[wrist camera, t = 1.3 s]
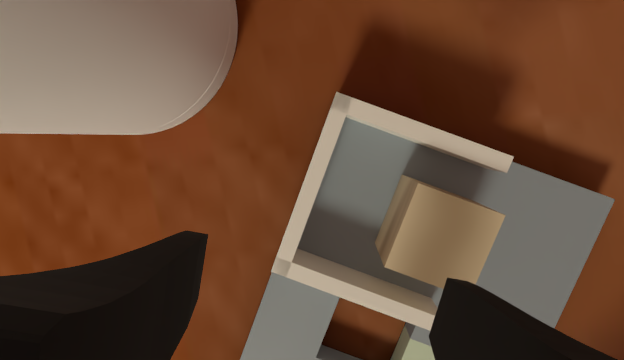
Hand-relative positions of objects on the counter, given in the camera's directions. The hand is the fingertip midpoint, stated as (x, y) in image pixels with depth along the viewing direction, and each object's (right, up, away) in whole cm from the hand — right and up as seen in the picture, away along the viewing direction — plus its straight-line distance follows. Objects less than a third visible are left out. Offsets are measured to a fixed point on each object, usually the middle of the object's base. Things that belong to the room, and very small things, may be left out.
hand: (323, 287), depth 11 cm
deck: (+5, -3, +12) cm, 13 cm away
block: (+6, +1, +10) cm, 11 cm away
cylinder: (-11, +12, +11) cm, 20 cm away
